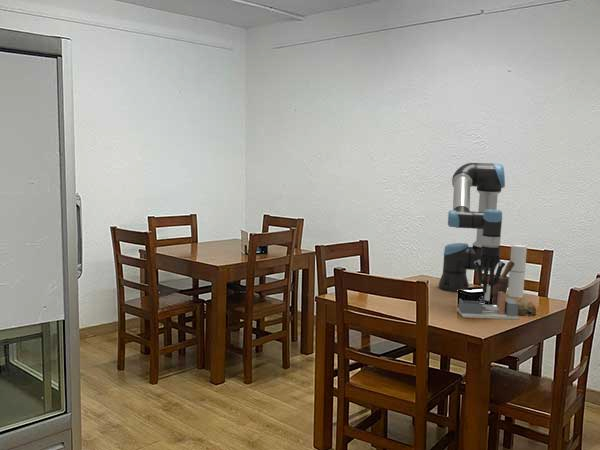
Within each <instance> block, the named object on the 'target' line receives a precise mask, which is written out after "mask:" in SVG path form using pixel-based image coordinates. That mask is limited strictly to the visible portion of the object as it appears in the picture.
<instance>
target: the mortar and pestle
mask: <svg viewBox="0 0 600 450" xmlns="http://www.w3.org/2000/svg"><path fill="white" fill-rule="evenodd" d="M513 266H514V262H512V261H510V260H509V261H508V262H507V264H505V266H504V270H502V271H503V272H501V274H500V277H499V281H498V284H495V285H494V286H493V290H492V294H491V296H492V295H493V298H492V304H491V305H497V299H498V291H500V292H504V293H505V294H506V293H507V292H508V285H509V276H508V274H509V272H510V270H511V269H512V268H513ZM495 274H496V273H494V278H495Z"/></svg>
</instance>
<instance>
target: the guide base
mask: <svg viewBox="0 0 600 450" xmlns="http://www.w3.org/2000/svg"><path fill="white" fill-rule="evenodd" d="M505 305H507V307H506V312H504V314H499V313H498V312H497V311H482V303H480V301H477V300H463V299H462V298H461V297H460V298H459V299H458V307H457V308H456V310H457V312H458V313H459V314H460V315H461V316H462V317H463V318H471V319H473V318H474V319H495V320H496V319H500V320H501V319H502V320H519V315H518V303H517V302H516V301H515V300H514V299H513V298H512V297H511V298H508V297H507V298H505Z"/></svg>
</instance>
